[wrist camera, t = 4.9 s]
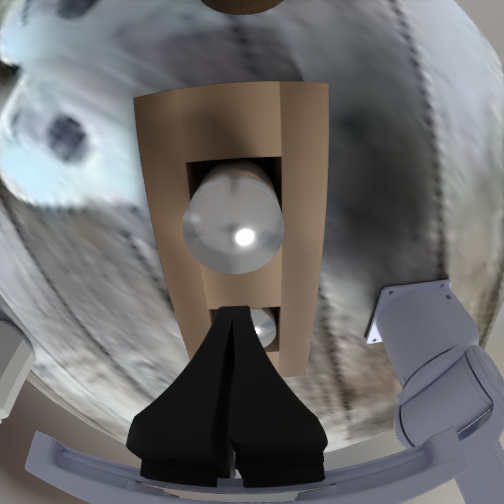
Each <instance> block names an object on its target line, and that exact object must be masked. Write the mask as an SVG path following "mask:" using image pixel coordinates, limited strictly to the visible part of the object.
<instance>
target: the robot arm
mask: <svg viewBox="0 0 504 504" xmlns="http://www.w3.org/2000/svg"><path fill="white" fill-rule="evenodd" d="M450 286H451V281H450V280H449V279H447V280H440V281H432V282H425V283H417V284H409V285H400V286H391V287H385V288H383V289H382V291H381V294H380V297H379V301H378V304H377V307H376V310H375V314H374V317H373V320H372V323H371V326H370V329H369V332H368V335H367V338H366V342H367V343H368V344H370V343H376V342H383V344H384V346H385V348H386V351H387V353H388V355H389V358H390V360H391V362H392V365H393V367H394V370H395V372H396V374H397V377H398V379H399V382H400V384H401V387H402V391H401V392H400V393H399V394H398V395H397V396H398V398H399V401H400V404H399V405H398V406H397V407H396V409H395V413H394V429H395V433H396V436H397V438H398V440H399V442H400V443H401V445H402V446H403V447H404V448H405V449H406V450H404V451H402V452H399V453H395V454H392V455H389V456H386V457H383V458H380V459H376V460H373V461H369V462H365V463H362V464H357V465H353V466H349V467H344V468H339V469H335V470H329V471H324V466H323V462H324V456H323V451H324V450H325V448H326V446H327V445H328V440H327V437H326V434H325V431H324V429H323V427H322V425H321V424H320V422H319V420H318V418H317V417H316V416H315V415H314V414H313V413H312V412H311V411H310V410H309V409H308V408H307V407H306V406H305V405H304V404H303V403H302V402H301V401H300V400H299V399H298V397H297V396H296V395H295V394H294V393H293V392H292V390H291V389H290V388H289V387H288V385H287V384H286V383H285V382H284V380H283V379H282V378H281V376H280V375H279V373H278V372H277V370H276V369H275V367H274V366H273V364H272V362H271V361H270V359H269V357H268V355H267V354H266V352H265V350H264V348H263V346H262V344H261V342H260V339H259V337H258V335H257V332H256V330H255V327H254V324H253V321H252V317H251V312H250V307H249V306H248V305H244V306H221V307H219V308H218V311H217V314H216V316H215V318H214V321H213V323H212V325H211V327H210V329H209V331H208V333H207V334H206V336H205V338H204V340H203V342H202V344H201V345H200V347H199V348H198V350H197V351H196V353H195V355H194V356H193V358H192V359H191V361H190V362H189V363H188V365H187V366H186V367H185V369H184V370H183V371H182V372H181V374H180V375H179V376H178V377H177V378H176V379H175V381H174V382H173V383H172V384H171V385H170V386H169V387H168V388H167V389H166V390H165V391H164V392H163V393H162V394H161V395H160V396H159V397H158V398H157V399H156V400H155V401H153V402H152V403H151V404H150V405H149V406H147V407H146V408H145V409H144V410H142V411H141V412H140V413H138V414H137V415H136V416H135V417H134V419H133V421H132V424H131V426H130V429H129V433H128V438H127V442H126V447H127V448H128V449H129V450H130V451H131V452H132V453H133V454H135V455H136V456H137V457H139V458H140V459H142V463H141V468H136V467H132V466H127V465H123V464H119V463H115V462H112V461H108V460H104V459H101V458H98V457H94V456H92V455H88V454H85V453H82V452H80V451H77V450H74V449H71V448H69V447H66V446H64V445H63V444H61V443H60V442H59V441H57V440H56V439H54V438H52V437H50V436H48V435H46V434H43V433H41V432H39V431H36V433H35V436H34V439H33V442H32V446H31V449H30V452H29V455H28V458H27V462H26V465H25V469H26V470H27V471H28V472H30V473H32V474H33V475H35V476H37V477H39V478H40V479H42V480H44V481H46V482H48V483H49V484H51V485H53V486H55V487H57V488H59V489H61V490H63V491H65V492H67V493H69V494H71V495H73V496H75V497H78V498H80V499H82V500H84V501H87V502H89V503H92V504H401V503H404V502H406V501H408V500H411V499H413V498H415V497H418V496H420V495H422V494H424V493H426V492H428V491H430V490H432V489H434V488H436V487H438V486H440V485H442V484H444V483H446V482H448V481H450V480H452V479H453V478H455V481H456V483H457V485H458V487H459V489H460V491H461V494H462V496H463V498H464V501H465V503H466V504H504V450H503V448H502V446H501V443H500V441H499V438H500V436H501V434H502V432H503V430H504V380H503V378H502V375H501V373H500V372H499V370H498V368H497V366H496V365H495V363H494V362H493V360H492V359H491V358H490V356H489V355H488V354H487V352H486V351H485V350H484V349H483V348H482V347H481V346H479V345H478V343H479V336H478V330H477V327H476V324H475V322H474V320H473V319H472V317H471V316H470V315H469V313H468V312H467V311H466V309H465V308H464V307H463V305H462V304H461V303H460V301H459V300H458V299H457V297H456V296H455V295H454V294H453V292H452V291H451V290H450V289H449V288H450ZM390 291H391V292H390ZM490 408H491V409H490ZM489 409H490V410H489ZM488 410H489V411H488ZM487 411H488V412H487ZM485 412H487V413H486V414H484V413H485ZM483 414H484V415H483ZM482 415H483V416H482ZM480 416H482V417H480ZM479 417H480V418H479ZM478 418H479V419H478ZM476 419H478V420H477V421H475V420H476ZM474 421H475V422H474ZM472 422H474V423H473V424H471V423H472ZM470 424H471V425H470ZM468 425H470V426H468ZM467 426H468V427H467ZM466 427H467V428H466ZM464 428H466V429H464ZM463 429H464V430H463ZM461 430H463V431H461ZM460 431H461V432H460ZM458 432H460V433H458ZM457 433H458V434H457ZM235 469H237V470H238V471H239V473H240V475H241V477H242V479H234V477H235V476H236V472H235ZM141 483H142V484H141ZM143 484H147V485H152V486H157V487H163V488H168V489H176V490H182V491H191V492H201V493H215V494H269V493H283V492H293V491H302V490H309V489H315V490H309V491H305V492H300V493H298V497H296V498H295V501H285V502H261V503H258V502H257V503H249V502H246V503H245V502H216V501H202V500H191V499H181V498H179V496H176V495H173V494H170V493H167V492H165V491H164V490H162V489H158V488H154V487H150V486H146V485H143ZM322 487H323V488H322ZM316 488H318V489H316Z"/></svg>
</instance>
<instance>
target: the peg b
mask: <svg viewBox="0 0 504 504" xmlns="http://www.w3.org/2000/svg"><path fill="white" fill-rule="evenodd" d="M250 312H251V317H252V321H253V324H254V327H255V330H256V332H257V335H258V337H259V339H260V342H261V344H262V346H263V348H264V347H266V346H268V345H269V344H270V343H271V342H272V341H273V340H274V338H275V335H276V326H275V317H274V308H273V307H259V308H250Z"/></svg>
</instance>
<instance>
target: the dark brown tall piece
mask: <svg viewBox="0 0 504 504" xmlns="http://www.w3.org/2000/svg"><path fill="white" fill-rule="evenodd" d="M201 1H202V2H203V3H204V4H205V5H207V6H208V7H210V8H212V9H214V10H216V11H219V12H222V13H226V14H233V15H245V14H255V13H260V12H263V11H266V10H269V9H271V8H273V7H275V6H276V5H278V4H279V3H281V2H282V1H283V0H201Z"/></svg>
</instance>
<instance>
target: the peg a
mask: <svg viewBox="0 0 504 504" xmlns="http://www.w3.org/2000/svg"><path fill="white" fill-rule="evenodd" d="M284 230H285V229H284V220H283V216H282V213H281V209H280V206H279V203H278V200H277V196H276V193H275V190H274V187H273V184H272V181H271V179H270V177H269V176H268V175H267V173H266V172H265V171H264V170H263V169H262V168H260V167H259V166H258V165H256V164H254V163H252V162H249V161H245V160H228V161H225V162H222V163H220V164H218V165H216V166H214V167H213V168H212V169H211V170H210V171H209V172H208V173H207V174H206V176H205V177H204V179H203V180H202V182H201V184H200V186H199V187H198V189H197V191H196V193H195V194H194V196H193V198H192V200H191V201H190V203H189V205H188V207H187V209H186V211H185V214H184V217H183V222H182V232H183V237H184V241H185V244H186V246H187V248H188V250H189V251H190V253H191V254H192V255H193V256H194V257H195V259H196V260H197V261H199V262H200V263H201V264H203V265H204V266H206V267H207V268H209V269H211V270H214V271H217V272H220V273H225V274H244V273H248V272H252V271H255V270H257V269H259V268H261V267H262V266H264V265H266V264H267V263H268V262H269V261H270V260H271V259H272V258H273V257H274V256H275V255H276V254H277V252H278V250H279V249H280V247H281V244H282V242H283V238H284Z"/></svg>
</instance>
